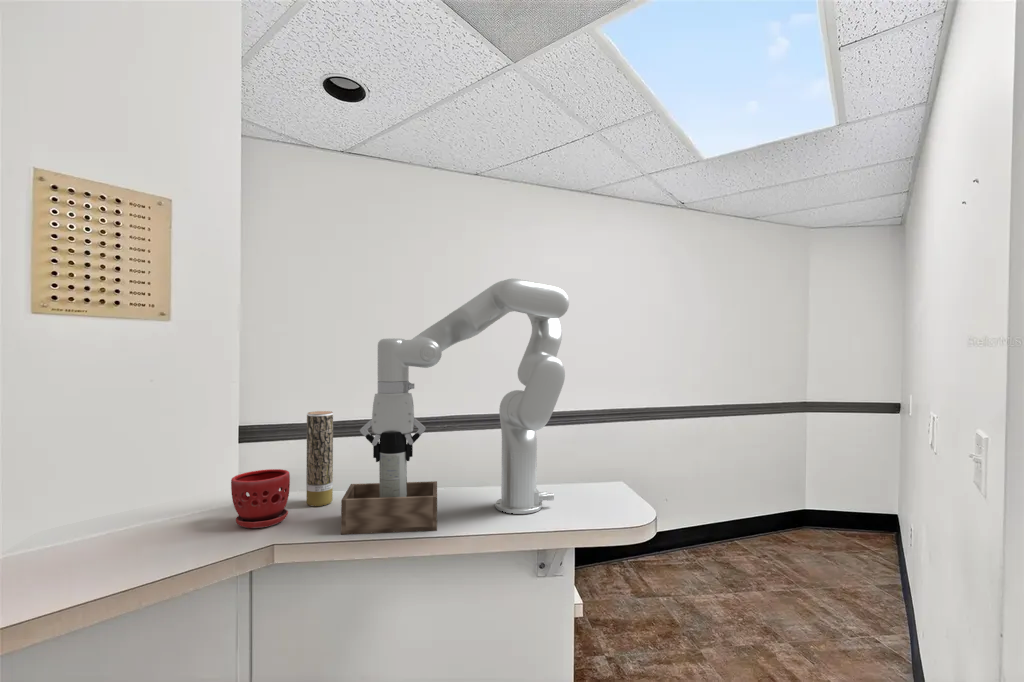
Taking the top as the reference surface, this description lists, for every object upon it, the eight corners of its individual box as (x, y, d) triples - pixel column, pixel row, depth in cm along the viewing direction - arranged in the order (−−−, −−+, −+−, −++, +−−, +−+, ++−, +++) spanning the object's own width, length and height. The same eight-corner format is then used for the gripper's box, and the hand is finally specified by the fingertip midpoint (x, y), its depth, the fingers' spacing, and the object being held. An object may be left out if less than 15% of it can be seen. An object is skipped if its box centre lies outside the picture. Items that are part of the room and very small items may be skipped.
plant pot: (293, 512, 139) (293, 466, 139) (284, 529, 127) (284, 479, 127) (238, 515, 136) (239, 469, 136) (224, 534, 124) (224, 482, 124)
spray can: (412, 510, 132) (412, 430, 132) (389, 517, 127) (389, 433, 127) (396, 505, 137) (396, 427, 137) (373, 511, 132) (373, 430, 132)
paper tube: (336, 500, 150) (337, 411, 150) (325, 507, 143) (326, 414, 143) (313, 499, 151) (314, 410, 151) (301, 506, 144) (302, 414, 144)
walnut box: (436, 511, 141) (437, 481, 141) (436, 530, 127) (437, 496, 127) (350, 514, 137) (350, 483, 137) (341, 534, 124) (341, 500, 124)
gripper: (428, 386, 137) (428, 456, 137) (359, 387, 134) (359, 458, 135) (428, 389, 130) (428, 462, 130) (354, 390, 127) (354, 465, 127)
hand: (393, 459), depth 132 cm, fingers closed on spray can, 6 cm apart
